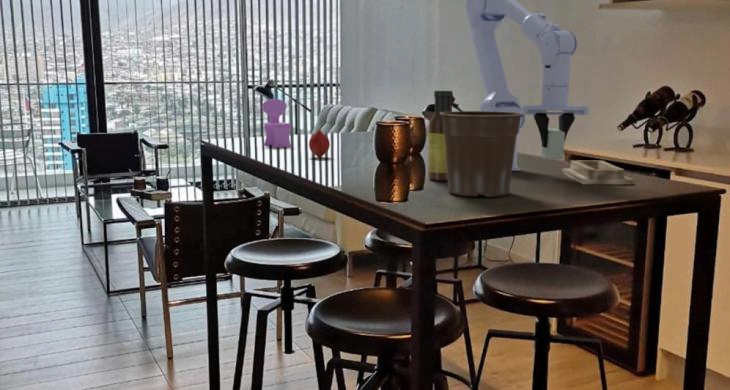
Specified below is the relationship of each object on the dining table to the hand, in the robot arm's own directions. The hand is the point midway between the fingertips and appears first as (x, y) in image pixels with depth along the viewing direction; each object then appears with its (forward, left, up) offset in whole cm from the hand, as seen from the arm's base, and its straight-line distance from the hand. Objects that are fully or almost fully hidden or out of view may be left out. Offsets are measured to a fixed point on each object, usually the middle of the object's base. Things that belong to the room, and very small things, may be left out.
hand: (552, 147), depth 160 cm
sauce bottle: (-25, -2, -7) cm, 26 cm away
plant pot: (-19, -19, -7) cm, 28 cm away
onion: (-56, +37, -7) cm, 67 cm away
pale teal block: (0, 0, -2) cm, 2 cm away
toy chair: (-72, +66, -7) cm, 98 cm away
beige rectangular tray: (+10, 0, -7) cm, 12 cm away
